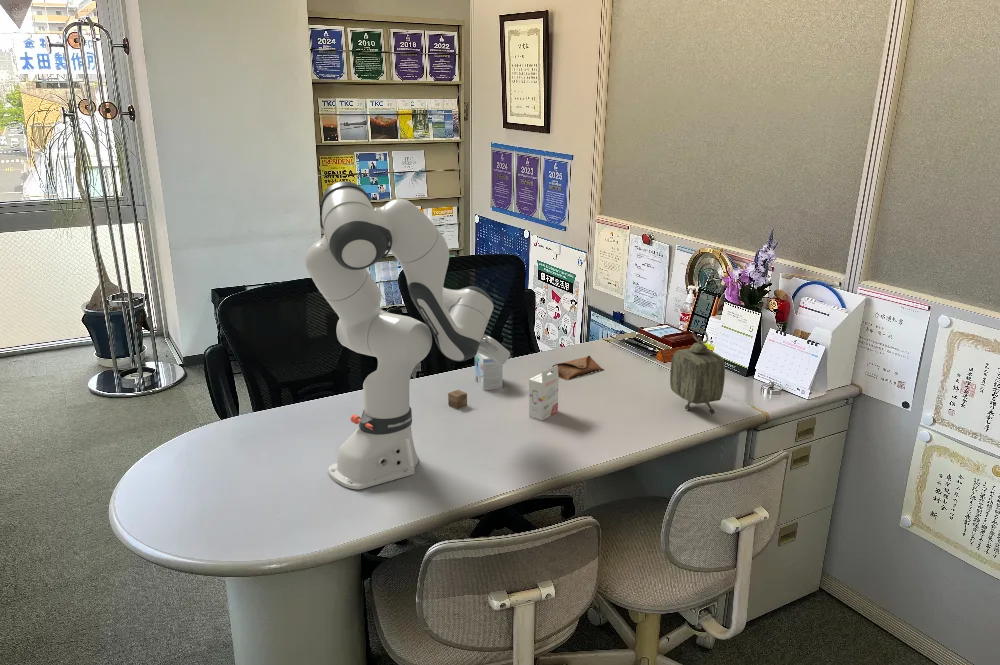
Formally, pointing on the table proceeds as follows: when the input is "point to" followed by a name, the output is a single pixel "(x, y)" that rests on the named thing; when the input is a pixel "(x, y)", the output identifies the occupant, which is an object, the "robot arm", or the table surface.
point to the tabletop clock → (697, 374)
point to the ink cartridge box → (544, 394)
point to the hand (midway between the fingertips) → (497, 359)
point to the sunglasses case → (577, 368)
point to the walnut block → (457, 399)
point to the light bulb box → (488, 372)
